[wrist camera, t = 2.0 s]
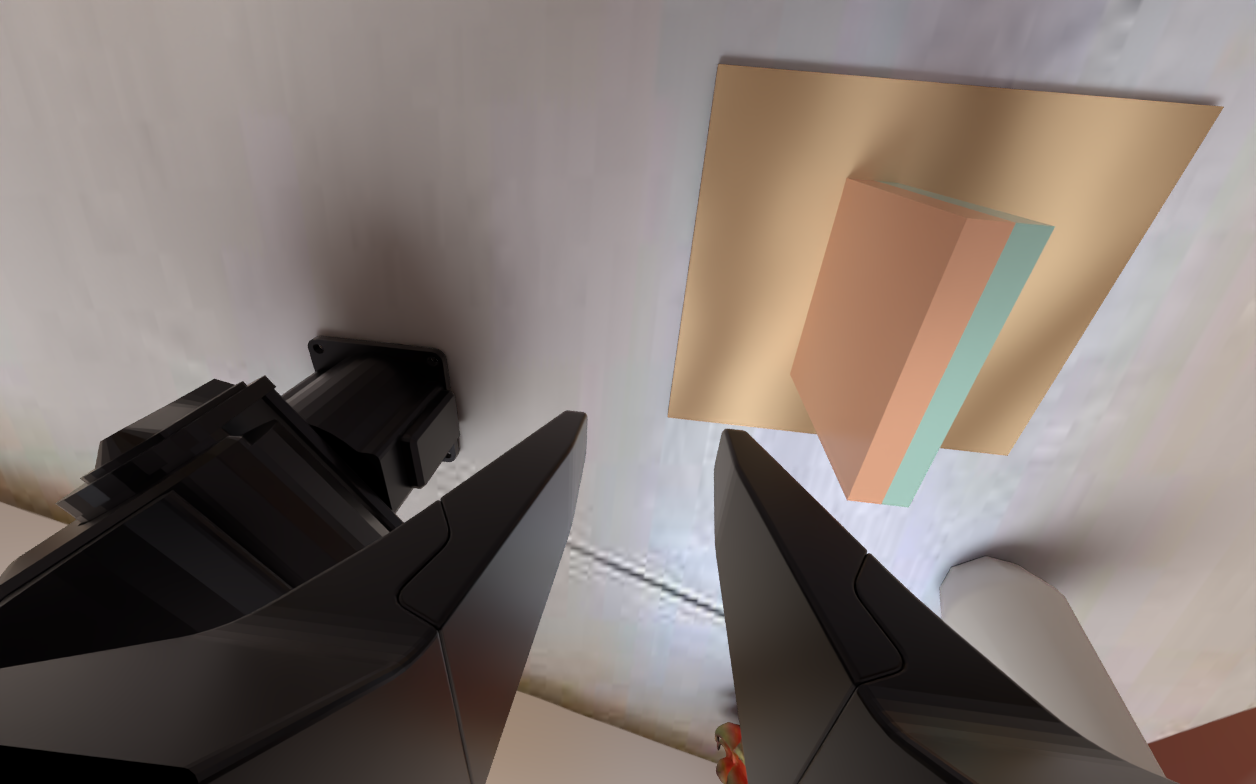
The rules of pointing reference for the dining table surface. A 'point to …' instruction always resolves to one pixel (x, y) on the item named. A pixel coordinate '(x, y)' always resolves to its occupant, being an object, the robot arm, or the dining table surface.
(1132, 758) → the salt shaker
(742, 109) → the cork mat
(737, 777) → the dragon fruit
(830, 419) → the tile
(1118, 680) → the dining table surface
